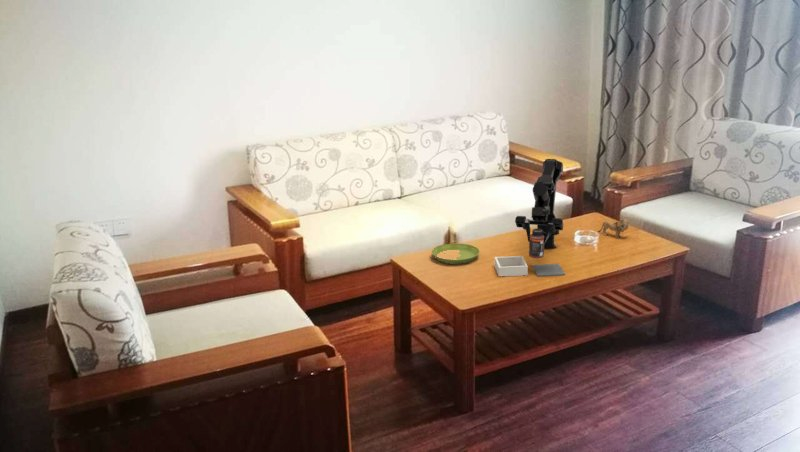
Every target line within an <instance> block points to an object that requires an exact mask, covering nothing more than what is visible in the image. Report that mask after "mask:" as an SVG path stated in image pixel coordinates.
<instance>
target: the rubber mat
mask: <svg viewBox="0 0 800 452" xmlns="http://www.w3.org/2000/svg"><path fill="white" fill-rule="evenodd" d="M531 267H532V269H533V271H534V273H535V275H536V276H537V277H556V276H557V277H558V276H566V273H565V272H564V270H563V268H562V267H561V265H560V264H559V263H547V264H532V265H531Z"/></svg>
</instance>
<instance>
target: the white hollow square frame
mask: <svg viewBox="0 0 800 452" xmlns="http://www.w3.org/2000/svg"><path fill="white" fill-rule="evenodd" d="M494 268H495V270H497V271H496V273H497V275H498V277H499V276H501V277H500V278H502V276H505V277H521V276H523V275H525V276H528V274H529V273H528V271H529V270H528V269H529V266H528V264H527V262H526V260H525V258H524V257H523V255H513V256H494Z"/></svg>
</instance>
